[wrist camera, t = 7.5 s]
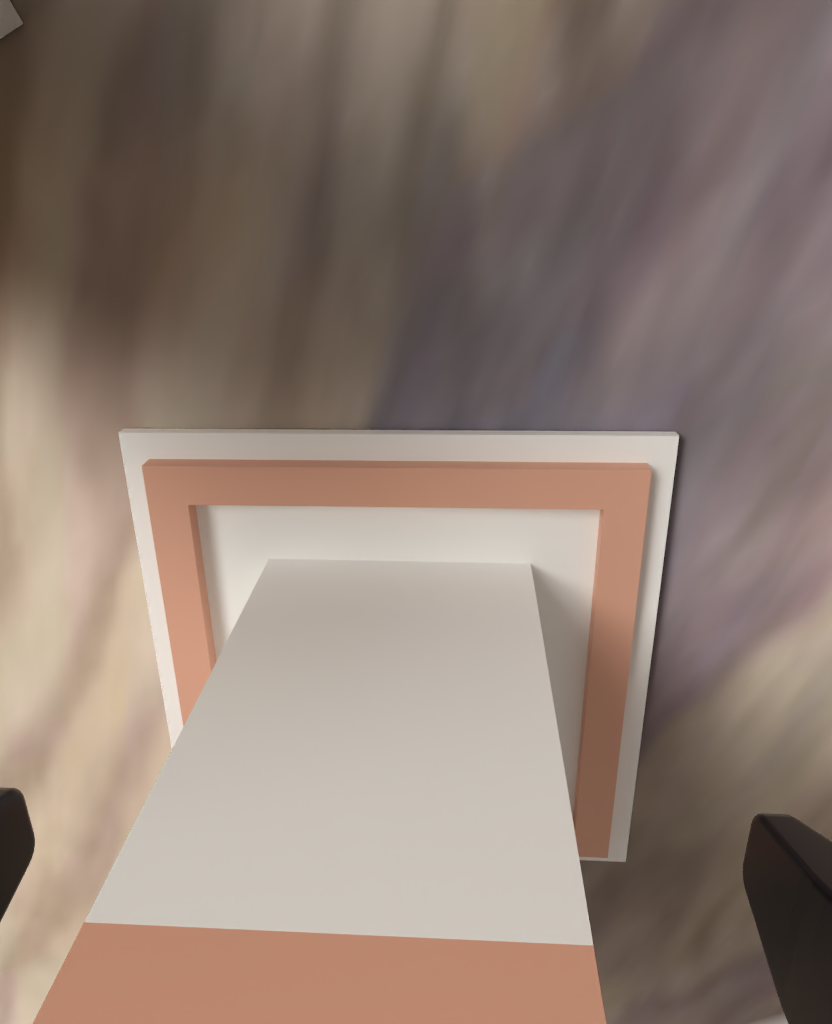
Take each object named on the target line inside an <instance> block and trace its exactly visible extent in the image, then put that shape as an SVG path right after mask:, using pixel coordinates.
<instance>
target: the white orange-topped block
mask: <svg viewBox="0 0 832 1024" xmlns="http://www.w3.org/2000/svg"><path fill="white" fill-rule="evenodd" d="M33 1024H606V1019H605V1013H604V1007H603V1001H602V995H601V989H600V983H599V976H598V970H597V964H596V958H595V952H594V946H593V940H592V934H591V928H590V922H589V916H588V909H587V903H586V897H585V891H584V885H583V879H582V873H581V867H580V861H579V855H578V849H577V843H576V836H575V830H574V824H573V818H572V812H571V806H570V800H569V794H568V788H567V782H566V776H565V769H564V763H563V757H562V751H561V745H560V739H559V733H558V727H557V721H556V715H555V709H554V703H553V696H552V690H551V684H550V678H549V672H548V666H547V660H546V654H545V648H544V642H543V636H542V629H541V623H540V617H539V611H538V605H537V599H536V593H535V587H534V581H533V575H532V569H531V563H481V562H427V561H373V560H319V559H268V561H267V563H266V565H265V567H264V569H263V571H262V573H261V575H260V577H259V579H258V581H257V583H256V585H255V587H254V589H253V591H252V593H251V595H250V597H249V599H248V601H247V603H246V604H245V606H244V608H243V610H242V612H241V614H240V616H239V618H238V620H237V622H236V624H235V626H234V628H233V630H232V632H231V634H230V636H229V638H228V640H227V642H226V644H225V646H224V648H223V650H222V652H221V654H220V656H219V658H218V660H217V662H216V664H215V666H214V668H213V670H212V672H211V673H210V675H209V677H208V679H207V681H206V683H205V685H204V687H203V689H202V691H201V693H200V695H199V697H198V699H197V701H196V703H195V705H194V707H193V709H192V711H191V713H190V715H189V717H188V719H187V721H186V723H185V725H184V727H183V729H182V731H181V733H180V735H179V737H178V739H177V740H176V742H175V744H174V746H173V748H172V750H171V752H170V754H169V756H168V758H167V760H166V762H165V764H164V766H163V768H162V770H161V772H160V774H159V776H158V778H157V780H156V782H155V784H154V786H153V788H152V790H151V792H150V794H149V796H148V798H147V800H146V802H145V804H144V806H143V807H142V809H141V811H140V813H139V815H138V817H137V819H136V821H135V823H134V825H133V827H132V829H131V831H130V833H129V835H128V837H127V839H126V841H125V843H124V845H123V847H122V849H121V851H120V853H119V855H118V857H117V859H116V861H115V863H114V865H113V867H112V869H111V871H110V873H109V875H108V876H107V878H106V880H105V882H104V884H103V886H102V888H101V890H100V892H99V894H98V896H97V898H96V900H95V902H94V904H93V906H92V908H91V910H90V912H89V914H88V916H87V918H86V920H85V922H84V924H83V926H82V928H81V930H80V932H79V934H78V936H77V938H76V940H75V942H74V943H73V945H72V947H71V949H70V951H69V953H68V955H67V957H66V959H65V961H64V963H63V965H62V967H61V969H60V971H59V973H58V975H57V977H56V979H55V981H54V983H53V985H52V987H51V989H50V991H49V993H48V995H47V997H46V999H45V1001H44V1003H43V1005H42V1007H41V1009H40V1010H39V1012H38V1014H37V1016H36V1018H35V1020H34V1022H33Z"/></svg>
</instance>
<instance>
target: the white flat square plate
mask: <svg viewBox="0 0 832 1024" xmlns="http://www.w3.org/2000/svg"><path fill="white" fill-rule="evenodd" d="M118 434H119V440H120V446H121V452H122V457H123V463H124V469H125V475H126V481H127V487H128V493H129V499H130V505H131V511H132V516H133V522H134V528H135V534H136V540H137V546H138V552H139V558H140V564H141V570H142V575H143V581H144V587H145V593H146V599H147V605H148V611H149V617H150V623H151V629H152V634H153V640H154V646H155V652H156V658H157V664H158V670H159V676H160V682H161V687H162V693H163V699H164V705H165V711H166V717H167V723H168V729H169V735H170V741H171V746H172V748H173V746H174V744H175V742H176V740H177V739H178V737H179V735H180V733H181V731H182V729H183V727H184V725H185V723H186V721H187V719H188V717H189V715H190V713H191V711H192V709H193V707H194V705H195V703H196V701H197V699H198V697H199V695H200V693H201V691H202V689H203V687H204V685H205V683H206V681H207V679H208V677H209V675H210V673H211V672H212V670H213V668H214V666H215V664H216V662H217V660H218V658H219V656H220V654H221V652H222V650H223V648H224V646H225V644H226V642H227V640H228V638H229V636H230V634H231V632H232V630H233V628H234V626H235V624H236V622H237V620H238V618H239V616H240V614H241V612H242V610H243V608H244V606H245V604H246V603H247V601H248V599H249V597H250V595H251V593H252V591H253V589H254V587H255V585H256V583H257V581H258V579H259V577H260V575H261V573H262V571H263V569H264V567H265V565H266V563H267V561H268V559H319V560H373V561H427V562H481V563H531V569H532V575H533V581H534V587H535V593H536V599H537V605H538V611H539V617H540V623H541V629H542V636H543V642H544V648H545V654H546V660H547V666H548V672H549V678H550V684H551V690H552V696H553V703H554V709H555V715H556V721H557V727H558V733H559V739H560V745H561V751H562V757H563V763H564V769H565V776H566V782H567V788H568V794H569V800H570V806H571V812H572V818H573V824H574V830H575V836H576V843H577V849H578V855H579V860H587V861H614V862H626V855H627V847H628V839H629V831H630V823H631V815H632V808H633V800H634V792H635V784H636V776H637V768H638V760H639V752H640V744H641V736H642V728H643V720H644V712H645V704H646V696H647V688H648V680H649V672H650V664H651V656H652V649H653V641H654V633H655V625H656V617H657V609H658V601H659V593H660V585H661V577H662V569H663V561H664V553H665V545H666V537H667V529H668V521H669V513H670V505H671V498H672V490H673V482H674V474H675V466H676V458H677V450H678V442H679V435H678V434H677V433H676V432H657V431H482V430H307V429H132V428H124V429H122V430H121V431H120V432H118Z"/></svg>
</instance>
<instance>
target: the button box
mask: <svg viewBox="0 0 832 1024" xmlns="http://www.w3.org/2000/svg"><path fill="white" fill-rule="evenodd" d="M22 24H23V22H22V20H21V19H20V17H19V15H18V14H17V12H16V10H15V8H14V7H13V5H12V3H11V1H10V0H0V39H1V38H2V37H4V36H5V35H7V34H9V33H10V32H12V31H13V30H15V29H16V28H18V27H19V26H21V25H22Z"/></svg>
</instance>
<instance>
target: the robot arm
mask: <svg viewBox="0 0 832 1024" xmlns="http://www.w3.org/2000/svg"><path fill="white" fill-rule="evenodd" d="M34 846H35V837H34V832H33V828H32V825H31V821H30V817H29V814H28V810H27V806H26V803H25V799H24V796H23V794H22V793H21V791H20V790H18V789H16V788H0V922H1V920H2V918H3V916H4V914H5V912H6V910H7V908H8V906H9V904H10V902H11V900H12V898H13V896H14V894H15V892H16V890H17V888H18V886H19V884H20V882H21V880H22V878H23V876H24V874H25V872H26V869H27V867H28V865H29V863H30V861H31V859H32V856H33V852H34ZM743 880H744V885H745V889H746V893H747V896H748V900H749V903H750V906H751V909H752V913H753V916H754V919H755V922H756V926H757V929H758V932H759V936H760V939H761V942H762V945H763V949H764V952H765V955H766V959H767V962H768V965H769V968H770V972H771V975H772V978H773V982H774V985H775V988H776V991H777V994H778V997H779V1000H780V1003H781V1006H782V1008H783V1011H784V1013H785V1016H786V1018H787V1021H788V1023H789V1024H832V842H831V841H830V840H828V839H827V838H825V837H823V836H822V835H820V834H819V833H817V832H816V831H814V830H813V829H811V828H810V827H808V826H806V825H805V824H803V823H802V822H800V821H799V820H797V819H796V818H794V817H792V816H790V815H786V814H758V815H756V816H755V817H754V819H753V821H752V824H751V829H750V833H749V838H748V843H747V848H746V853H745V857H744V863H743Z"/></svg>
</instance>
